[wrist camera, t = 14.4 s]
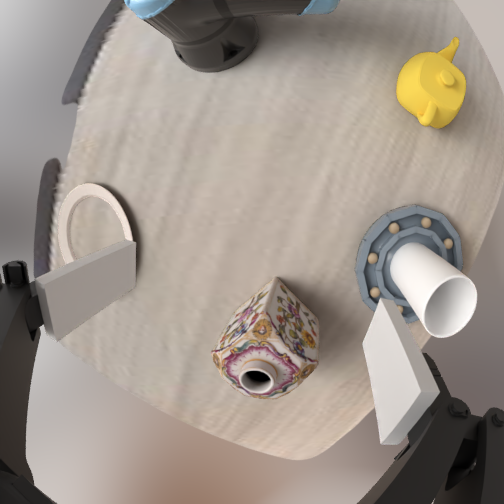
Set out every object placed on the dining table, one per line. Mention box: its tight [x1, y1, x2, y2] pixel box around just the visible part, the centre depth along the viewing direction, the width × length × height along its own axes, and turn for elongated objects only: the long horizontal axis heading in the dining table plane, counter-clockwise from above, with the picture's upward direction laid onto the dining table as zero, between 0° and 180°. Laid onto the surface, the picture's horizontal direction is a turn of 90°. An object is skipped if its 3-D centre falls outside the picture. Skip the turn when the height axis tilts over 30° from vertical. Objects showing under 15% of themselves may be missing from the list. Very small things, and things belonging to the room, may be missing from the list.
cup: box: [390, 242, 477, 338], centre depth 32 cm, size 8×8×16 cm
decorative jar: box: [211, 277, 319, 399], centre depth 40 cm, size 12×12×18 cm
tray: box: [355, 205, 463, 324], centre depth 40 cm, size 20×20×3 cm
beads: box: [367, 217, 453, 314], centre depth 39 cm, size 17×17×2 cm
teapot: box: [396, 37, 466, 128], centre depth 27 cm, size 18×11×11 cm, turn 154°
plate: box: [58, 183, 133, 264], centre depth 53 cm, size 26×26×2 cm
